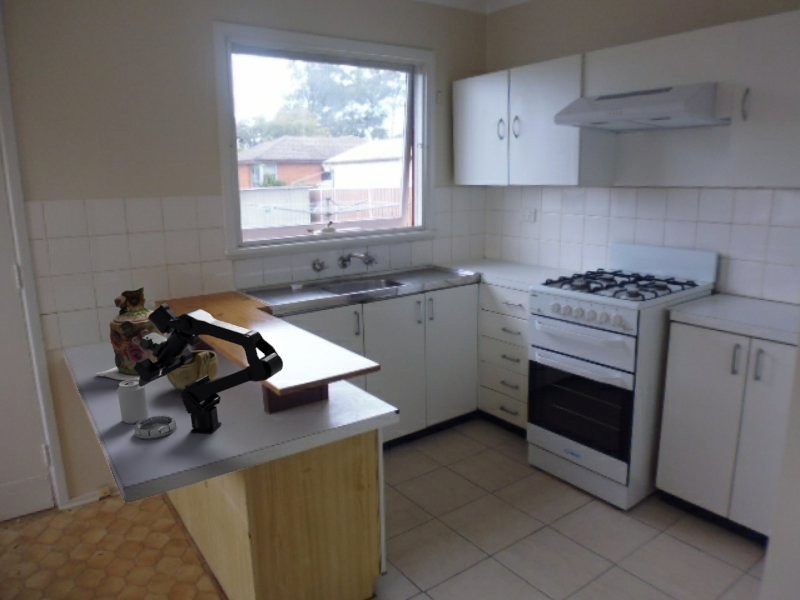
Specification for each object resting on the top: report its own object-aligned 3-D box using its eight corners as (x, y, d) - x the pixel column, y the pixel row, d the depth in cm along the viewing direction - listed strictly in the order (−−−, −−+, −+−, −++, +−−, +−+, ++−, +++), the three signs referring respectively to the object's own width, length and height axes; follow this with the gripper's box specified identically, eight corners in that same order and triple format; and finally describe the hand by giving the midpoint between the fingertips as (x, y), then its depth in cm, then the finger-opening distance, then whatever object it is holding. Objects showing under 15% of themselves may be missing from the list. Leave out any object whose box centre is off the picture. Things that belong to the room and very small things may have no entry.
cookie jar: (147, 357, 241) (136, 278, 234) (193, 363, 231) (183, 282, 223) (93, 377, 220) (79, 292, 212) (141, 385, 209) (128, 296, 202)
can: (141, 412, 186) (136, 375, 183) (154, 418, 181) (148, 380, 178) (117, 420, 180) (111, 383, 177) (130, 427, 175) (124, 388, 173)
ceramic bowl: (155, 387, 206) (150, 345, 203) (201, 374, 218) (196, 334, 215) (186, 403, 191) (181, 359, 188) (234, 388, 203) (229, 345, 199)
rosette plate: (183, 423, 176) (182, 415, 176) (163, 440, 166) (161, 432, 165) (149, 422, 178) (148, 414, 178) (127, 439, 168) (125, 430, 167)
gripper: (178, 316, 178) (154, 351, 184) (132, 334, 161) (107, 371, 167) (204, 342, 177) (179, 376, 183) (161, 362, 160) (135, 399, 166)
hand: (151, 380), depth 175 cm, fingers open, 9 cm apart
